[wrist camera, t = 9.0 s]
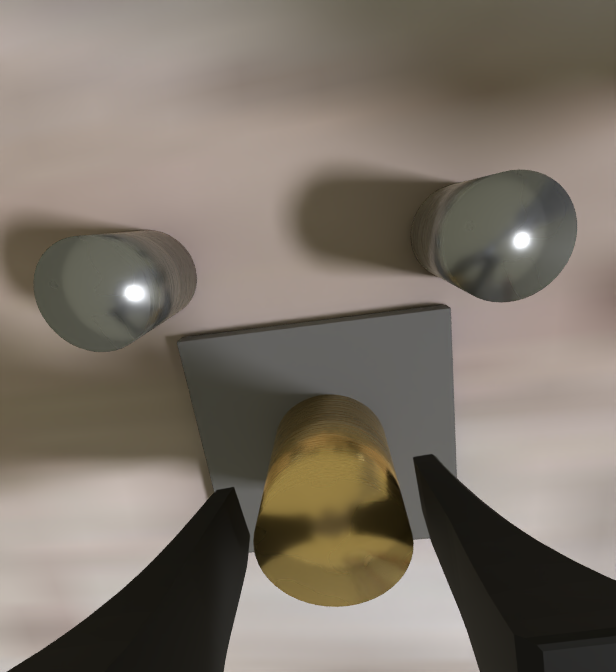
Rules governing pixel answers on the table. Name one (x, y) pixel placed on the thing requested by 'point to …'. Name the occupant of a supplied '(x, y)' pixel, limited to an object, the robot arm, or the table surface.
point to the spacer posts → (426, 237)
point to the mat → (324, 392)
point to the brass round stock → (332, 506)
